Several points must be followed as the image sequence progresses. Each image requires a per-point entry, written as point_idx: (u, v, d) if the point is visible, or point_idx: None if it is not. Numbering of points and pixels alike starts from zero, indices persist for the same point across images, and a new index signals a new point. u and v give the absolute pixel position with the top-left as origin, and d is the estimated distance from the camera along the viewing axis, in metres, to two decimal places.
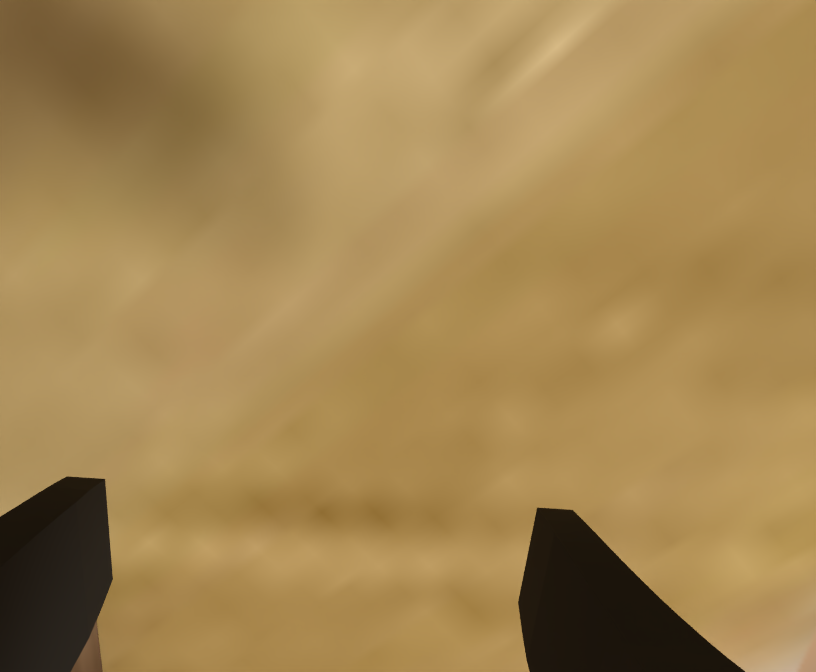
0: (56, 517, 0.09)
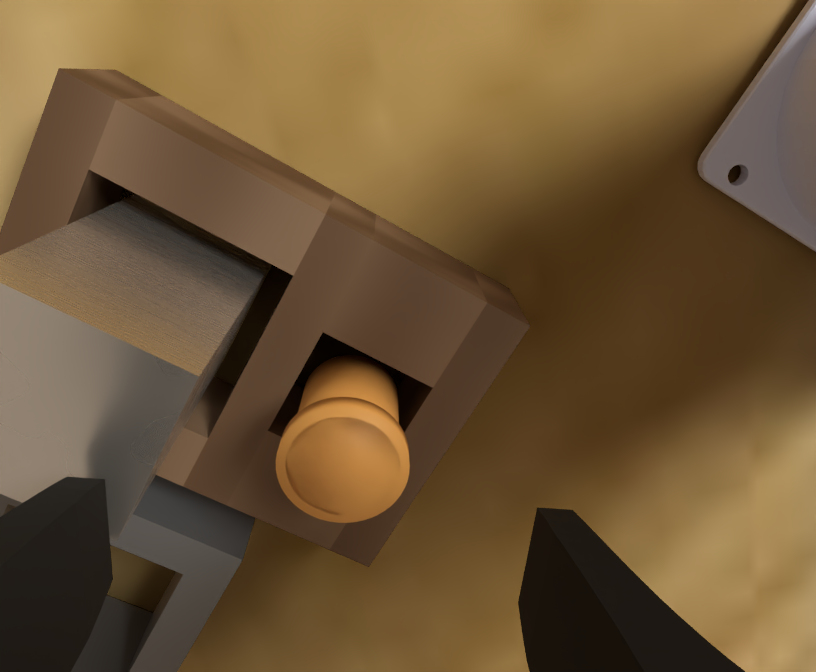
0: (56, 516, 0.09)
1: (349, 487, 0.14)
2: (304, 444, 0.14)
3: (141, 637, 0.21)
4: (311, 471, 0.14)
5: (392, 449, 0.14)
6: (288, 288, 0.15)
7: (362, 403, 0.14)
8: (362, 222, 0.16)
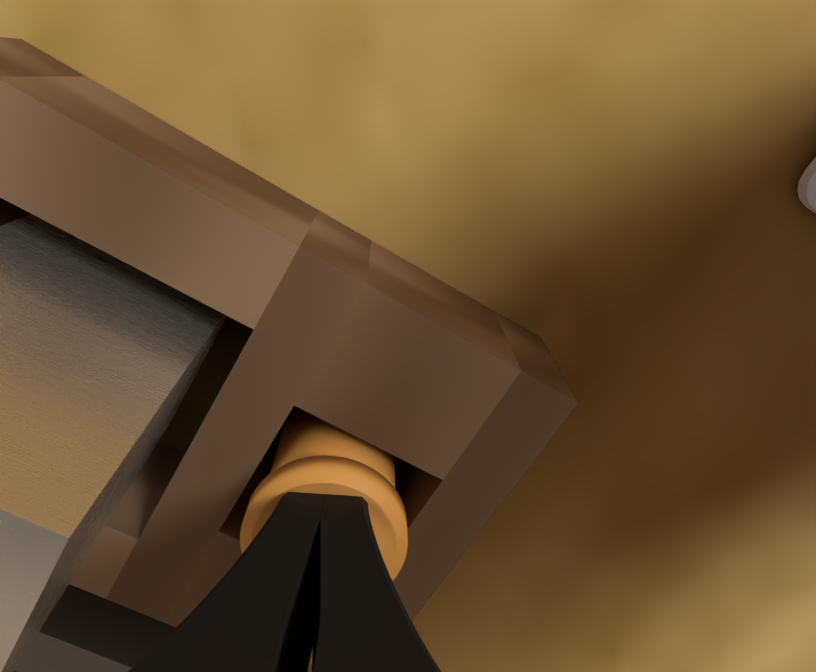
0: (313, 532, 0.09)
1: None
2: None
3: None
4: None
5: (386, 523, 0.11)
6: (246, 346, 0.11)
7: (349, 464, 0.11)
8: (352, 255, 0.12)
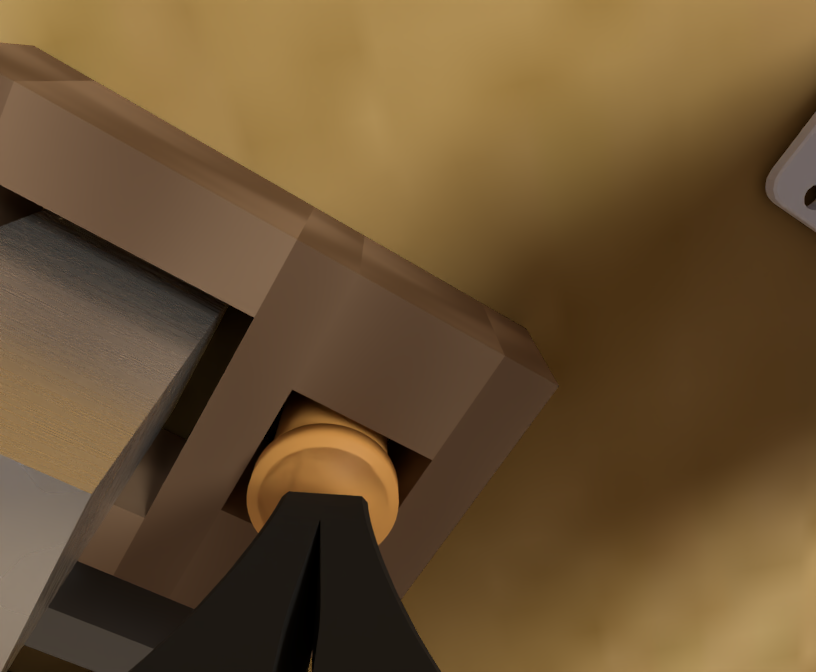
0: (313, 532, 0.09)
1: None
2: (279, 477, 0.12)
3: None
4: None
5: (379, 484, 0.12)
6: (247, 333, 0.12)
7: (346, 431, 0.12)
8: (346, 248, 0.12)
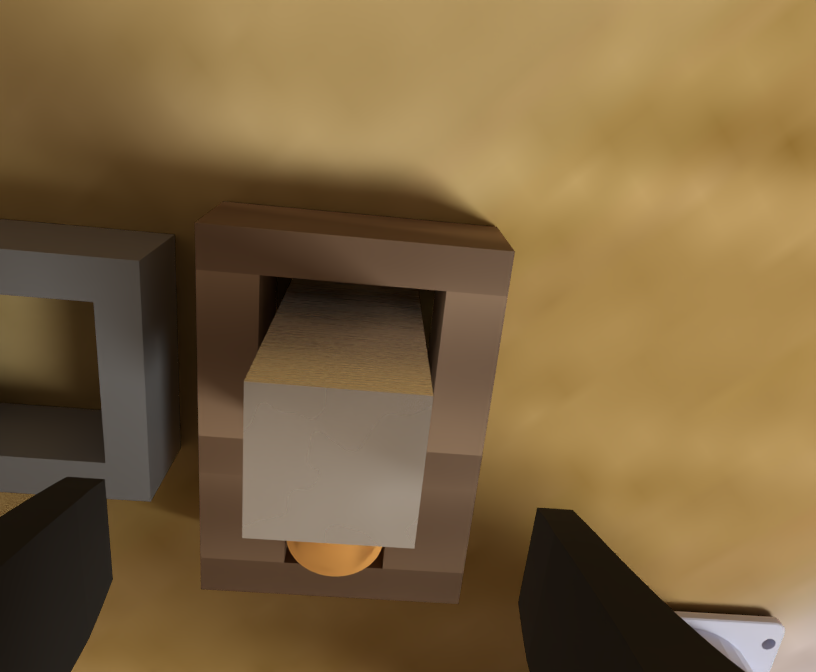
0: (56, 516, 0.09)
1: (321, 546, 0.19)
2: None
3: None
4: None
5: (363, 559, 0.19)
6: None
7: None
8: None
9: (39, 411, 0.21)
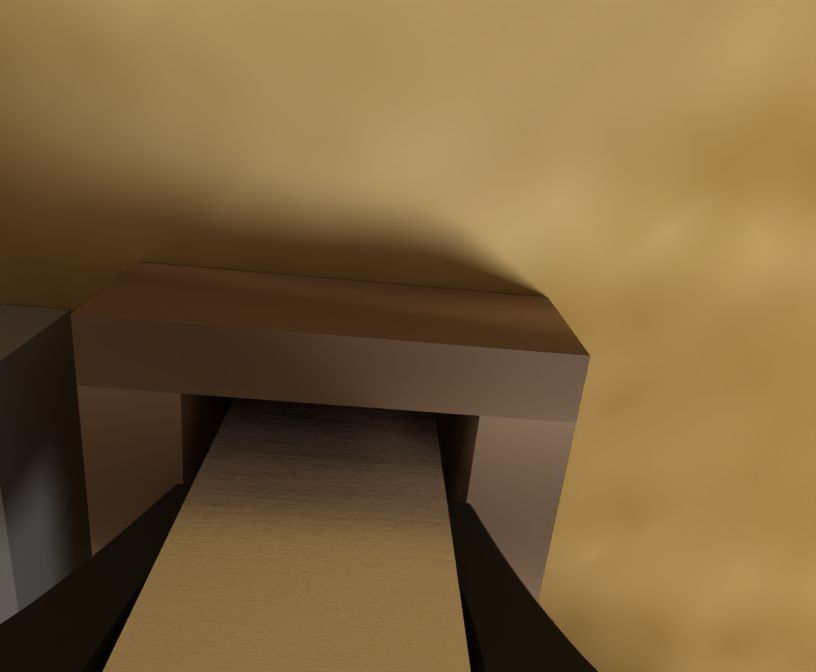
0: None
1: None
2: None
3: None
4: None
5: None
6: None
7: None
8: None
9: None
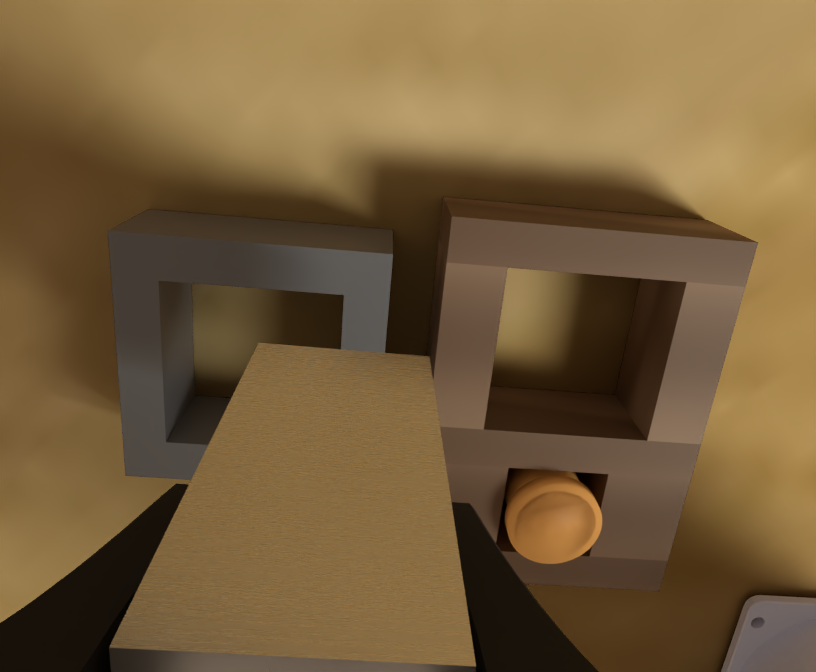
0: None
1: (540, 534, 0.20)
2: (563, 498, 0.19)
3: (186, 410, 0.21)
4: (544, 509, 0.19)
5: (579, 546, 0.20)
6: (635, 440, 0.19)
7: None
8: None
9: None
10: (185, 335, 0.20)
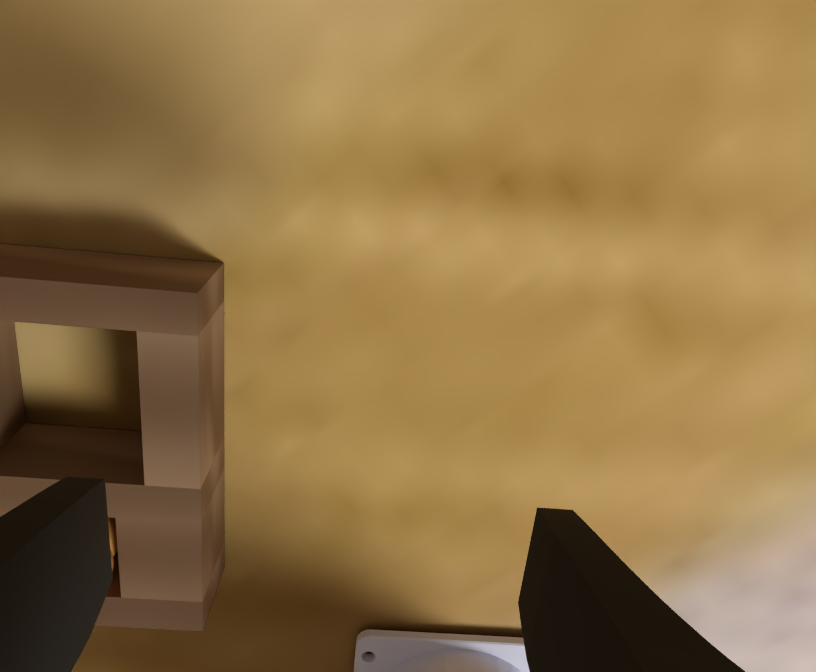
0: (56, 516, 0.09)
1: None
2: None
3: None
4: None
5: None
6: (133, 485, 0.19)
7: None
8: (210, 491, 0.21)
9: None
10: None
